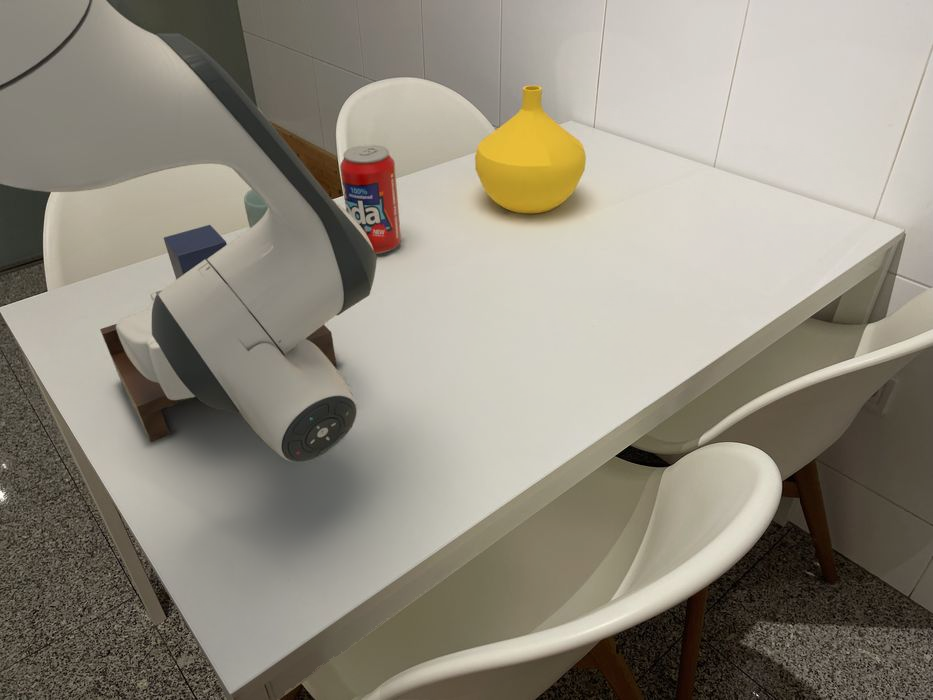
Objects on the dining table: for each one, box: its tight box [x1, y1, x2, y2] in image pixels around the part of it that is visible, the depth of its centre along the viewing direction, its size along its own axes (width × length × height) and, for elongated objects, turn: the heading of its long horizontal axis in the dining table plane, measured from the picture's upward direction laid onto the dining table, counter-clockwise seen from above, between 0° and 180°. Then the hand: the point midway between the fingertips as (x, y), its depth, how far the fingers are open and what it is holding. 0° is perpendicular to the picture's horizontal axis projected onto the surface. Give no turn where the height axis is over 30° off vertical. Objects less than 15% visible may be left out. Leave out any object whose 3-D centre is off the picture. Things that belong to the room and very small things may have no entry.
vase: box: [474, 85, 587, 215], centre depth 115 cm, size 18×18×19 cm
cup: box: [243, 189, 269, 229], centre depth 104 cm, size 8×8×10 cm
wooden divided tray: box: [99, 323, 337, 442], centre depth 81 cm, size 22×12×8 cm, turn 125°
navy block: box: [163, 224, 228, 280], centre depth 76 cm, size 5×5×13 cm
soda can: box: [339, 144, 402, 255], centre depth 104 cm, size 8×8×15 cm
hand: (202, 283), depth 76 cm, fingers open, 8 cm apart
